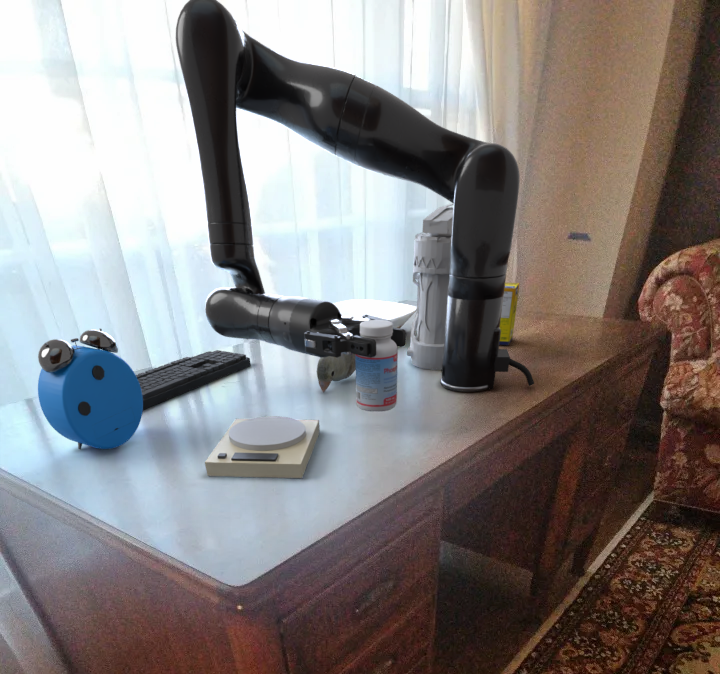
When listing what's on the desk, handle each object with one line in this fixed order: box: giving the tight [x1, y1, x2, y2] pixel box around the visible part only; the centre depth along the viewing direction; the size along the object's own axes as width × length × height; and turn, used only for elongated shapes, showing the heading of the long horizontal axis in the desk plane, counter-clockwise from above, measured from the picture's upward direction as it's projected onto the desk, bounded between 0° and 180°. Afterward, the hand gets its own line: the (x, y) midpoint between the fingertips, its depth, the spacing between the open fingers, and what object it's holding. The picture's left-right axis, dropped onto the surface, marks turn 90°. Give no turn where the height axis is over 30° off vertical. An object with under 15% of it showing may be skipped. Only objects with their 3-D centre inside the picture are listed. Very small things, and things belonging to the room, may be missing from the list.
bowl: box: [332, 298, 417, 329], centre depth 130 cm, size 22×22×5 cm
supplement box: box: [499, 282, 521, 346], centre depth 122 cm, size 6×6×11 cm
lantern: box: [406, 203, 454, 371], centre depth 108 cm, size 13×10×25 cm
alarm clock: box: [37, 328, 144, 450], centre depth 81 cm, size 13×6×15 cm, turn 148°
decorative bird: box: [316, 354, 356, 393], centre depth 105 cm, size 5×16×8 cm, turn 154°
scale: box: [204, 415, 321, 479], centre depth 82 cm, size 13×16×3 cm
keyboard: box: [135, 349, 252, 411], centre depth 106 cm, size 35×11×2 cm, turn 149°
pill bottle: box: [355, 320, 399, 413], centre depth 83 cm, size 6×6×11 cm
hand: (389, 343), depth 79 cm, fingers closed on pill bottle, 6 cm apart
